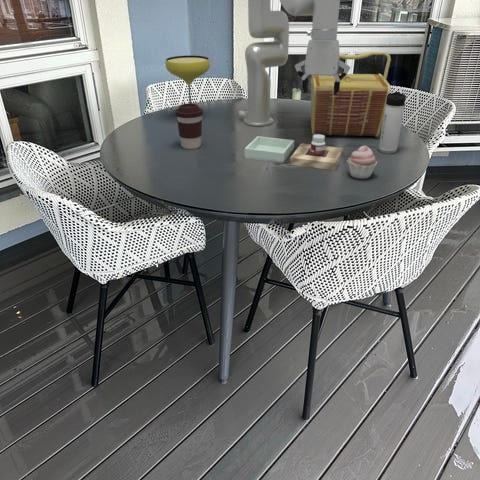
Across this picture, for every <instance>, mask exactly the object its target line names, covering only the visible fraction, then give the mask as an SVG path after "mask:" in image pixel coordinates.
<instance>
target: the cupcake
mask: <svg viewBox="0 0 480 480" xmlns="http://www.w3.org/2000/svg"><path fill="white" fill-rule="evenodd" d="M346 162H347V165H348V169H349V174H350V177H352V178H354V179H358V180H359V179H360V180H367V179H369V178H370V177H371V175H372V173H373V172H374V171H373V170H374V169H375V167H376V166H377V165H378V161H376V157H375V154H374V152H373V151H372V149H371V148H369V146H367V145H361V146H360V147H359V148H358V149H357V150H353V152H352V153H351V155H350V157H348V159H347V160H346Z"/></svg>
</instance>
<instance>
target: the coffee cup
mask: <svg viewBox="0 0 480 480" xmlns="http://www.w3.org/2000/svg"><path fill="white" fill-rule="evenodd" d="M174 114H175V117H176V118H177V120H176V121H177V128H178V129H177V130H178V136H179V137H180V139H179V140H180V145H181V148H183V149H186V150H196V149H199V148H200V147H201V146H202V145H201V144H202V136H203V134H202V131H203V130H202V129H203V123H202V122H203V121H202V119H201V117H202V116H203V114H204V110H203V109H202V107H200V106H199V105H198V104H196V103H192V102H191V103H183V104H179V106H178V107H177V108H176V109H175V110H174Z"/></svg>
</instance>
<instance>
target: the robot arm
mask: <svg viewBox="0 0 480 480" xmlns="http://www.w3.org/2000/svg"><path fill="white" fill-rule="evenodd" d="M247 1H248V2H247V4H248V5H247V7H248V8H247V13H248V15H247V16H248V17H247V18H248V33H249V36H251V38H253V39H273V40H271V41H257V42H252V43H249V44H248V45H247V46H246V47H245V50H244V58H245V64H246V73H247V77H246V78H247V84H246V85H247V110H239V111H238V116H239V117H244V119H243V123H244V124H245V125H248V126H252V127H265V126H270V125H272V124H273V123H274V119H273V117H271V87H272V86H271V82H272V81H271V76H270V75H269V73H268V72H267V70H266V68H273V67H281V66H284V65H286V63H287V61H288V58H289V49H290V47H289V42H290V41H289V38H290V22H289V17H288V15H287V14H289V15H290V16H293V17H300V16H301V17H303V16H305V17H307V16H312V28H311V30H307V33H306V35H307V36H308V37H310V38H311V39H308V43H307V47H306V53H305V59H304V60H302V61H300V62H298V63H296V64H295V65H294V68H295V70H296V73H297V75H298V76H299V78H300V79H301V80H302V85H301V87H302V88H301V89H302V91H303V94H306V93H308V92H309V79H308V78H309V76H311V75H321V76H333V77H334V78H335V80H336V81H335V82H334V93H333V95H336V94H337V92H339V88H340V81H341V80H342V79H343V78H344V77H345V76H346V75H347V74H349V72H350V70H351V66H350V65H348V64H346V63H345V62H344V61H341V59H340V58H339V53H340V41H339V39H337V37H338V27H339V13H340V1H341V0H279V3H280V4H281V6H282V7H283V8H284V10H285V11H286V12H287V13H286V12H284V11H282V10H272V7H271V6H272V5H271V3H272V2H271V1H272V0H247ZM303 66H304V71H303V70H302V68H301V67H303ZM340 68H341V69H343V72H342V73H339V70H340ZM339 74H341V75H339Z"/></svg>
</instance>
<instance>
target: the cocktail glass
mask: <svg viewBox="0 0 480 480" xmlns="http://www.w3.org/2000/svg"><path fill="white" fill-rule="evenodd" d="M210 64H211V61H210V57H207V56H203V55H176V56H171V57H167V58H166V59H165V67H166V71H168V72H169V73H170V74H172V75H173V76H175V77H178V78H179V79H181V80H183V81H184V83H185V84H186V85H188V98H189V103H192V98H191V97H192V96H191V85H192V84H193V82H194V81H195V80H196V79H197V78H200V77H201V76H202V75H204V74H205V73H206V72H208V71H209V69H210V66H211V65H210ZM202 117H203V116H201V119H203V118H204V117H203V118H202Z"/></svg>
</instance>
